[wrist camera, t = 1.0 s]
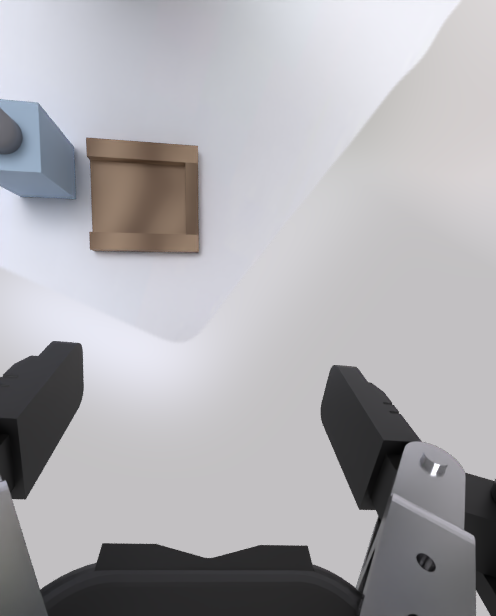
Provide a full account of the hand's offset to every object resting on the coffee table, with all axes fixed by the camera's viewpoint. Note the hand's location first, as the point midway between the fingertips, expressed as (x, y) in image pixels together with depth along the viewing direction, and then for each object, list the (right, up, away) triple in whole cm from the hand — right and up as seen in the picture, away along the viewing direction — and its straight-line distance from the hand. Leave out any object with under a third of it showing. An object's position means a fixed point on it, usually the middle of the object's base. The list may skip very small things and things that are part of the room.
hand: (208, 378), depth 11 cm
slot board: (-9, +13, +23) cm, 28 cm away
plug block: (-18, +15, +21) cm, 32 cm away
